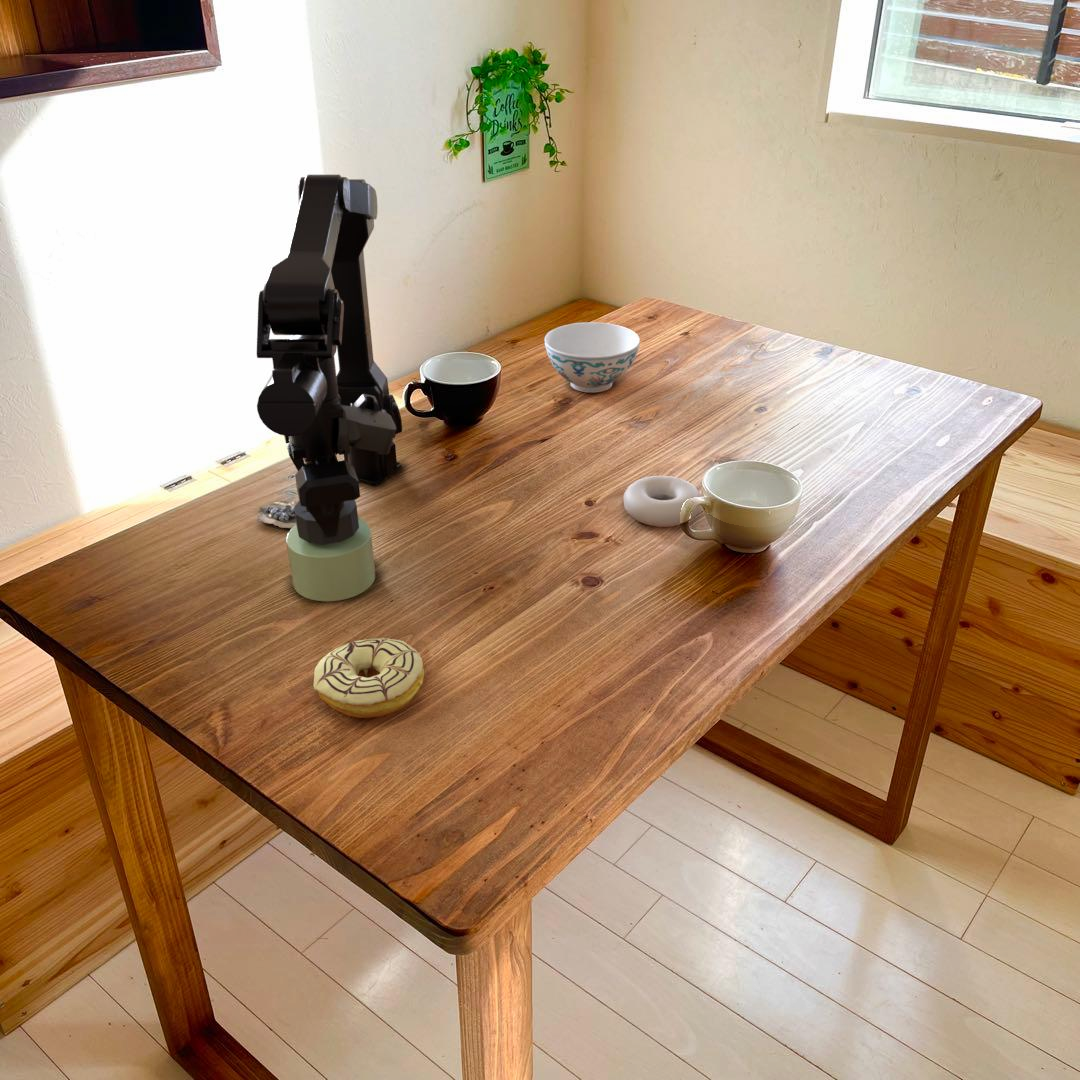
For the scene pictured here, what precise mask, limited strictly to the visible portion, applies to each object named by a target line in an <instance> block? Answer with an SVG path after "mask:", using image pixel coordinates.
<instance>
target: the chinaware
mask: <svg viewBox="0 0 1080 1080" xmlns="http://www.w3.org/2000/svg"><path fill="white" fill-rule="evenodd" d="M543 342H544V347H545V350H546V353H547V357H548V359H549V361H550V363H551V365H552V367H553V368H554V370H555V371H556V372H557V373H558V374H559V375H560V376H561V377H562V378H564V379H565V380H566V381H568V382H569V384H570V386H571V388H573V389H574V390H576V391H579V392H582V393H601V392H605V391H607V390H609V389H611V388H612V387H613V383H614V382H616V381H617V380H619V379H621V378H622V377H623V376H624V375H625V374H626V373H627V372H628V370H629V369H630V368H631V367H632V365H633V364H634V361H635V359H636V357H637V354H638V352H639V348H640V343H641V339H640V336H639V334H638V333H637V332H635V331H634V330H632V329H630V328H628V327H625V326H622V325H618V324H615V323H608V322H598V321H586V322H585V321H584V322H574V323H569V324H564V325H561V326H558V327H555V328H553V329H551V330H550V331H548V332H547V333H546V335H544V340H543Z"/></svg>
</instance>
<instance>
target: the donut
mask: <svg viewBox="0 0 1080 1080" xmlns="http://www.w3.org/2000/svg"><path fill="white" fill-rule="evenodd" d="M694 497H701V494H700V491H699V490H698V489H697V487H695V486H694V485H693V484H692V483H690V482H689V481H688V480H685V479H683V478H679V477H676V476H670V475H650V476H645V477H642V478H639V479H636V480H635V481H634V482H632V483H631V484H630V485H628V487H627V488H626V490H625V491H624V493H623V499H622V500H623V507H624V509H625V511H626V512H627V514H628V515H629V516H630V517H631V518H633V519H634V520H636V521H637V522H639V523H641V524H645V525H647V526H653V527H658V528H659V527H662V528H663V527H665V528H667V527H669V528H670V527H676V526H681V525H680V512H681V508H682V505H683V503H684V502H685V501H686V500H687V499H690V498H694ZM701 508H702V505H701V506H697V507H696V508H695V509H694V510H693V511H692V513H691V519H690V521H691V520H692V519H694V518H695V517H697V515H698V514H699V512H700V510H701Z"/></svg>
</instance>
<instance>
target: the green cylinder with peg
mask: <svg viewBox="0 0 1080 1080" xmlns="http://www.w3.org/2000/svg"><path fill="white" fill-rule="evenodd" d="M358 522H359V528H358V530H357V531H356V533H355V534H354V535H353V536H352V537H350V538H348V539H346V540H344V541H342V542H338V543H331V544H325V545H322V544H313V543H308V542H307V541H305V540H303V539H301V538H300V537H299V535H298V531H297V525H296V526H294V527H293V528H292V529H291V528H290V530H289V531H288V532H287V535H286V539H285V541H286V549H287V555H288V563H289V568H290V575H291V582H292V587H293V590H295V592H296V593H297V594H299V595H300V596H301V597H303V598H306V599H308V600H311V601H316V602H338V601H344V600H347V599H351V598H354V597H356V596H358V595H361V594H362V593H364V592H366V591H367V590H368V589H369V588H370V587H371V586H372V585H373V584H374V581H375V580H376V565H375V556H374V555H375V554H374V546H373V537H372V528H371V526H370V525H369V524H368V522H366V521H365V520H364V519H361V518H360V517H358Z"/></svg>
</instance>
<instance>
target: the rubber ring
mask: <svg viewBox="0 0 1080 1080" xmlns="http://www.w3.org/2000/svg"><path fill="white" fill-rule="evenodd" d="M294 511H295V517H296V524H297V531H298V535H299V537H300V538H301V539H303V540H305V541H307V542H308V543H313V544H322V545H325V544H331V543H338V542H342V541H344V540H346V539H348V538H350V537H352V536H353V535H354V534H355V533H356V531H357V530H358V528H359V522H358V518H359V514H358V505H357V502H356V500H350V501H344V502H342V506H341V511H340V517H339V523H338V530H337V535H336V536H335V537H330V538H327V537H326V536H325V534H324V533H323V531H322V530H321V528H320V527H319V525H318V524H317V522H316V521H315V519H314V518H313V516H312V515H311V513H310V512H309V511H308V509H307V508H306V507H305V506H301V505H300V500H299V501H298V502H296V504H295V506H294Z"/></svg>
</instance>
